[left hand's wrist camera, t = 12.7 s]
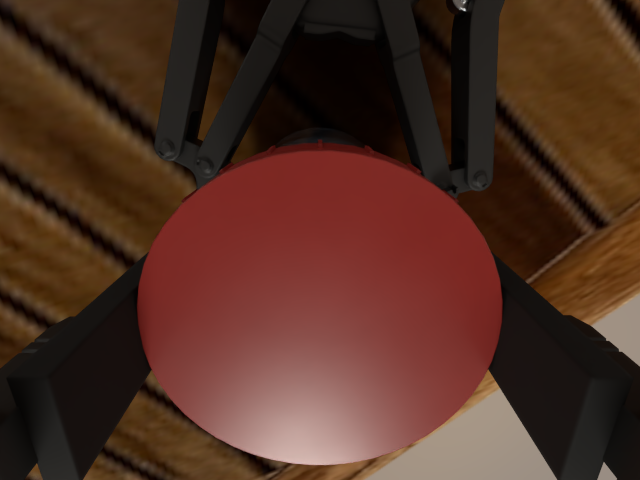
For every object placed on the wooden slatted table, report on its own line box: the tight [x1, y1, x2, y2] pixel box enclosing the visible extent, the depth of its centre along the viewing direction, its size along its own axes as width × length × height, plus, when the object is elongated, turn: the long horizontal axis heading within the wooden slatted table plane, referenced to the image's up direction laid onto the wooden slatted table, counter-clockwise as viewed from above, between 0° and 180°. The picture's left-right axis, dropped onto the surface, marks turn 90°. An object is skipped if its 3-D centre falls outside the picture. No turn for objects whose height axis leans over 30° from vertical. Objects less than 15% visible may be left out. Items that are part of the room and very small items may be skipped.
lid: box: [137, 140, 503, 465], centre depth 11 cm, size 10×10×2 cm
